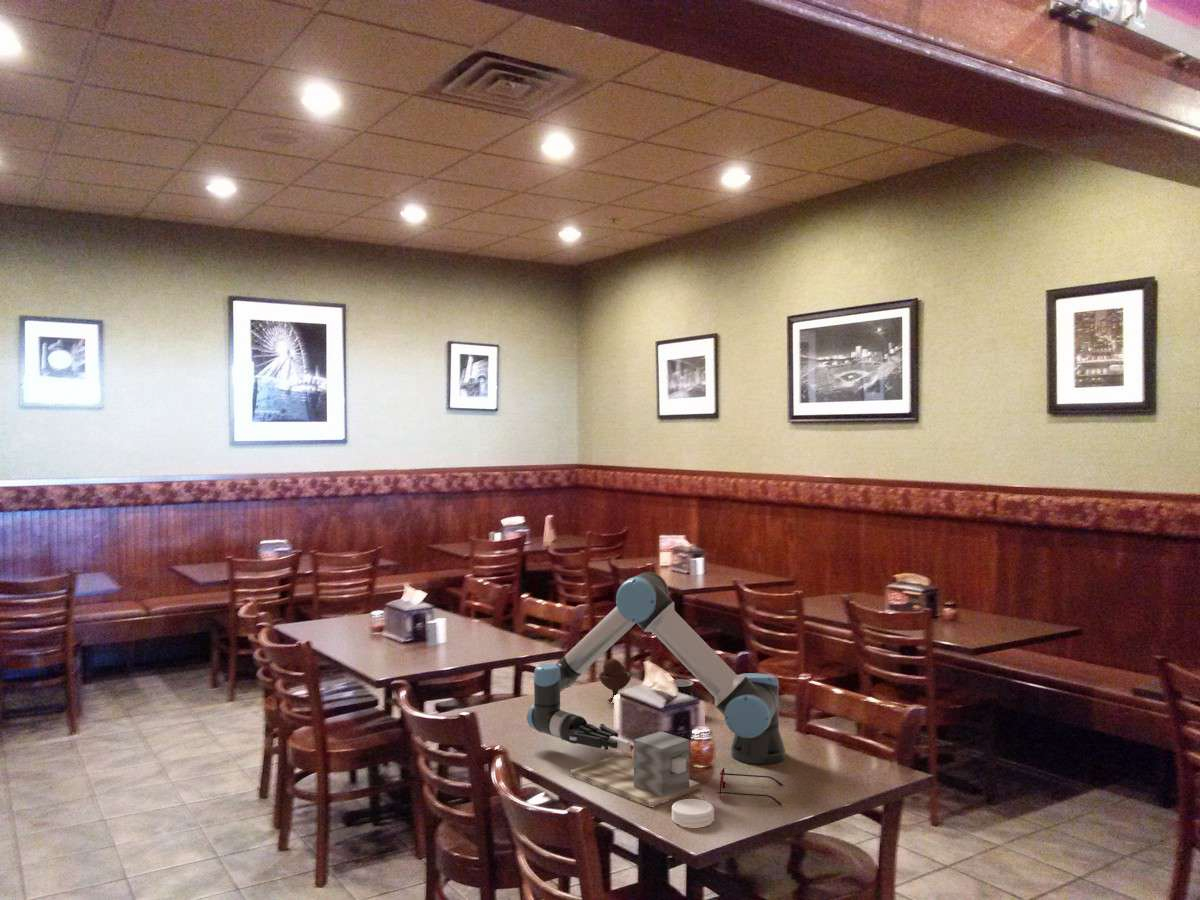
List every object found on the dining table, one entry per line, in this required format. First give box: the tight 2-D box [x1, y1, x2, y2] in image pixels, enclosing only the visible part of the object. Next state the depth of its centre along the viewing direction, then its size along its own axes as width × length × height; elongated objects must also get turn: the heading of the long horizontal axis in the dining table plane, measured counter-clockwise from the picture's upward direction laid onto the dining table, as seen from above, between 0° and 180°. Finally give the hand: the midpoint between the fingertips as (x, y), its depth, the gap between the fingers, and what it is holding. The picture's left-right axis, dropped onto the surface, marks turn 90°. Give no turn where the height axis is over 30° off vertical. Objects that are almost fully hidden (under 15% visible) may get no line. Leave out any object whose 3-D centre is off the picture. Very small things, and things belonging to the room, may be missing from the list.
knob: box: [631, 747, 686, 774], centre depth 234 cm, size 14×6×6 cm, turn 43°
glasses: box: [715, 767, 784, 806], centre depth 234 cm, size 14×16×5 cm
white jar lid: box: [671, 798, 715, 827], centre depth 217 cm, size 10×10×4 cm
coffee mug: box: [673, 679, 694, 697], centre depth 304 cm, size 12×9×10 cm
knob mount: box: [570, 730, 701, 808], centre depth 241 cm, size 30×18×14 cm, turn 43°
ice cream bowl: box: [598, 658, 632, 704], centre depth 316 cm, size 11×11×15 cm
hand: (628, 747), depth 242 cm, fingers closed
